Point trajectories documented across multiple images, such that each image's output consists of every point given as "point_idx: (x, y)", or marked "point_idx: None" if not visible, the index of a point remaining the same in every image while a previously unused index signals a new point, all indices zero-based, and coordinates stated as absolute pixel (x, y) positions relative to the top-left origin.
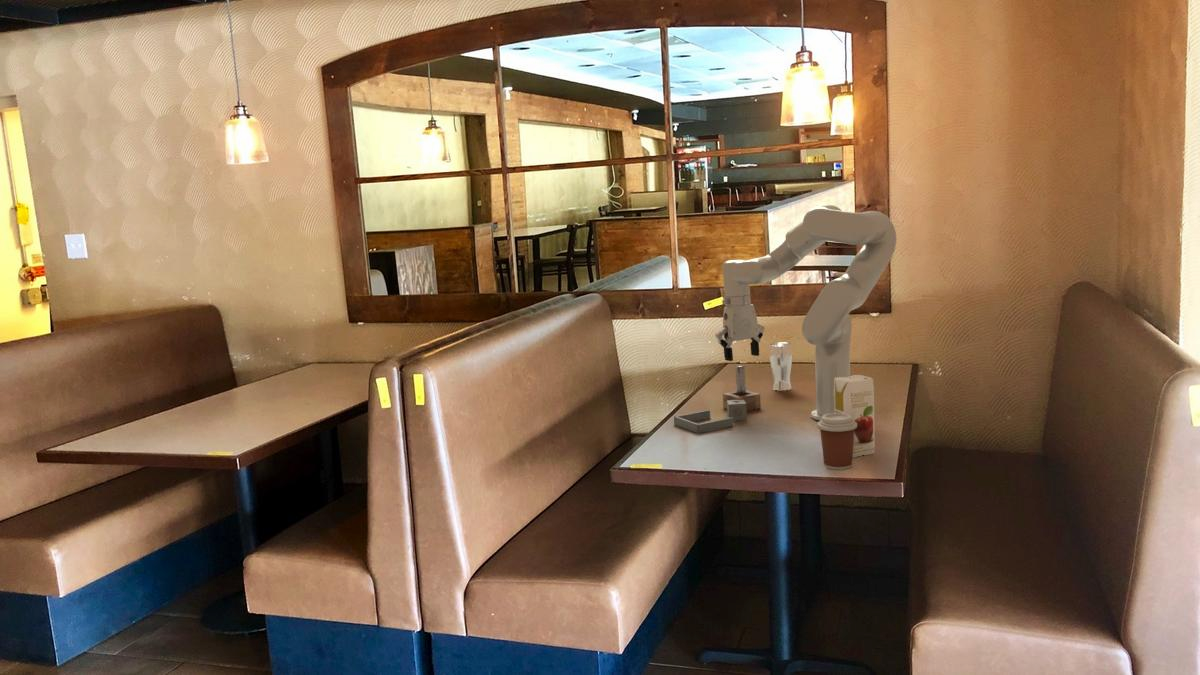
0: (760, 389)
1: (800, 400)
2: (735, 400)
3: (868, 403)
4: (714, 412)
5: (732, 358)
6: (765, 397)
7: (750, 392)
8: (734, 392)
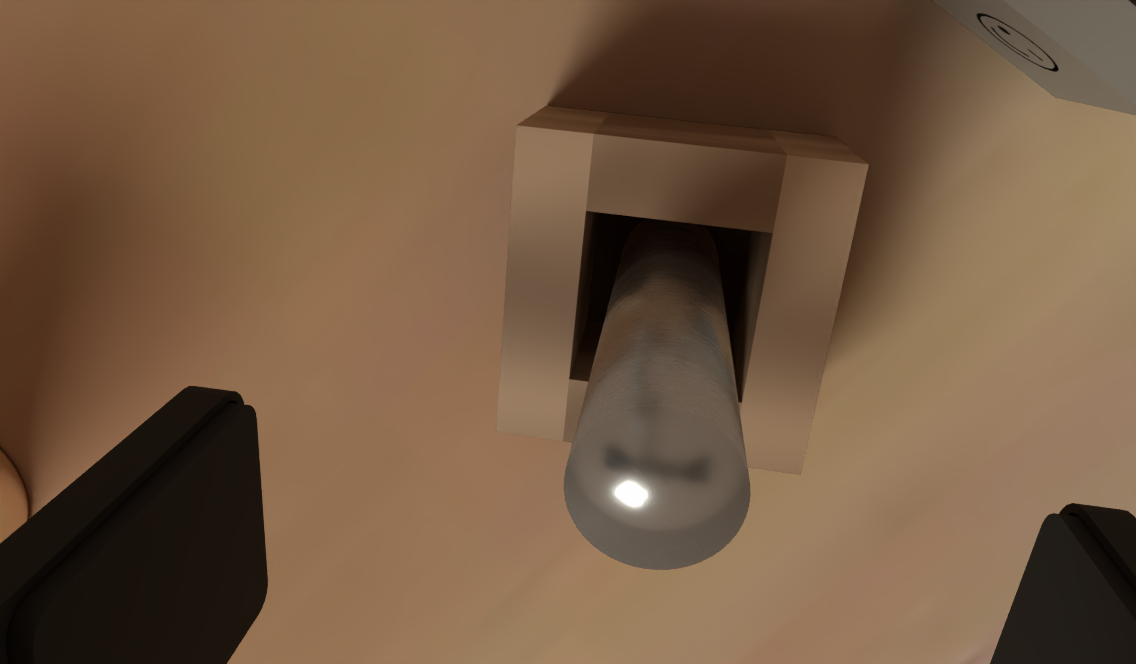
0: None
1: (40, 48)
2: (1079, 25)
3: None
4: (974, 344)
5: (1106, 529)
6: None
7: (546, 272)
8: None
